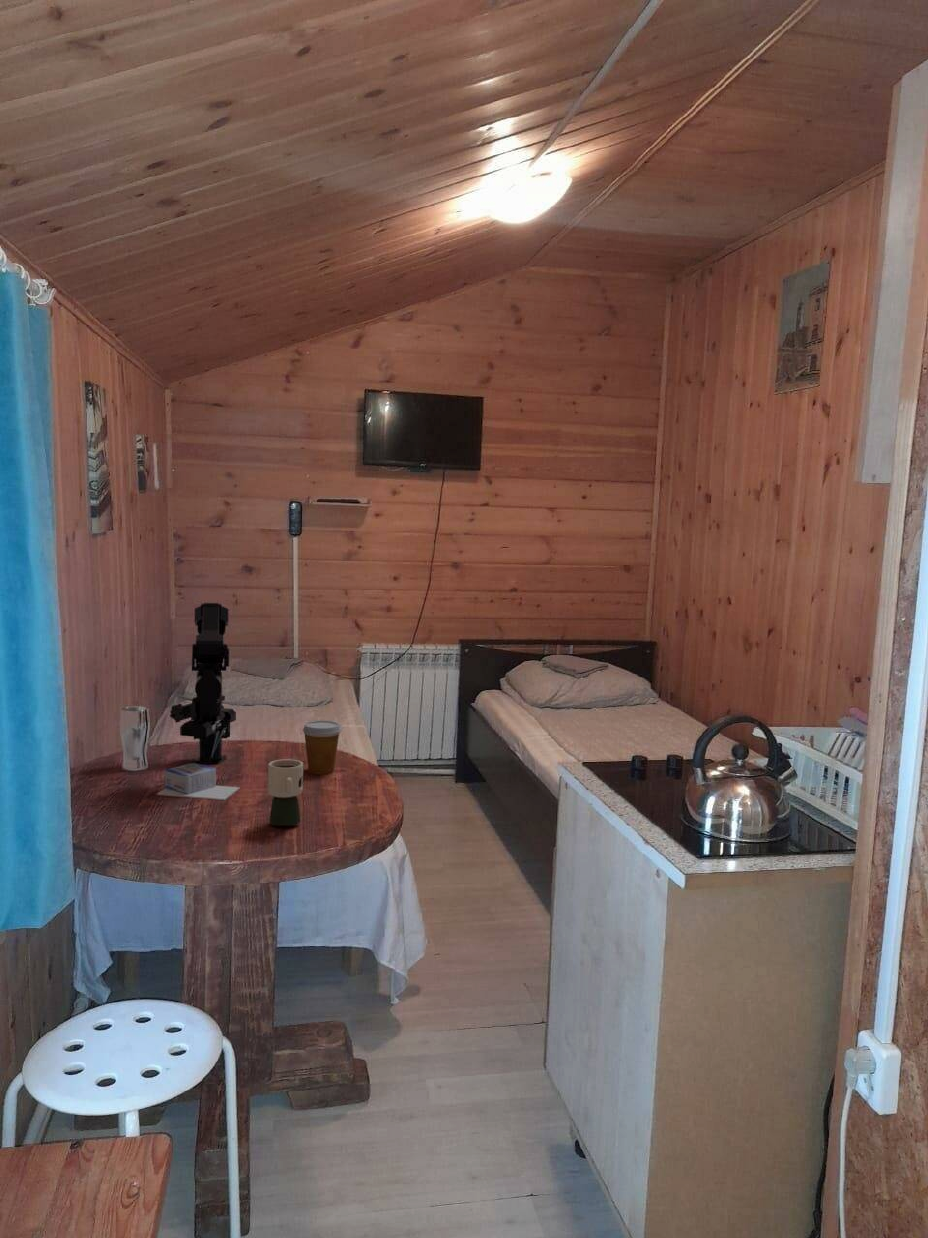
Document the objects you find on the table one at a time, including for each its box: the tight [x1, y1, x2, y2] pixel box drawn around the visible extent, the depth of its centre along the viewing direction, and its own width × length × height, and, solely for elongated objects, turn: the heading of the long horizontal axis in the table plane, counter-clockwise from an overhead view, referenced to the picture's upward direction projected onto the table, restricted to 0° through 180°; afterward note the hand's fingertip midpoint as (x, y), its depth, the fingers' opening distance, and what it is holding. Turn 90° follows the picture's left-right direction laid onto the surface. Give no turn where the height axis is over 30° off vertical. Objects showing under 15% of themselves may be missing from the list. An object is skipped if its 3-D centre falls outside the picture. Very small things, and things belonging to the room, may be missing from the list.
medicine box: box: [164, 762, 217, 794], centre depth 211 cm, size 8×4×9 cm
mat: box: [156, 785, 240, 801], centre depth 209 cm, size 9×16×1 cm, turn 82°
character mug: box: [267, 758, 304, 828], centre depth 189 cm, size 11×7×13 cm, turn 20°
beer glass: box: [119, 705, 151, 772], centre depth 226 cm, size 7×7×15 cm
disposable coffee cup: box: [302, 720, 342, 775], centre depth 229 cm, size 10×10×12 cm
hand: (208, 757), depth 214 cm, fingers closed
